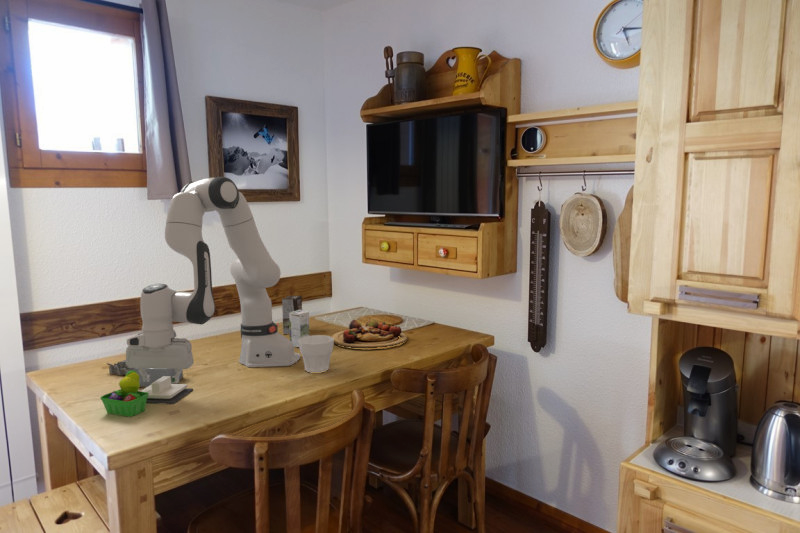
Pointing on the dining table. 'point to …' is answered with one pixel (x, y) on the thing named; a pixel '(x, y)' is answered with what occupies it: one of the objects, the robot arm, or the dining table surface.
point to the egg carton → (119, 368)
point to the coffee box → (290, 310)
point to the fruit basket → (126, 397)
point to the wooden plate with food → (369, 335)
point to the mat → (173, 399)
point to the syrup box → (298, 326)
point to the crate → (157, 375)
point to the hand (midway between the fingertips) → (161, 381)
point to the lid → (163, 388)
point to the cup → (316, 352)
